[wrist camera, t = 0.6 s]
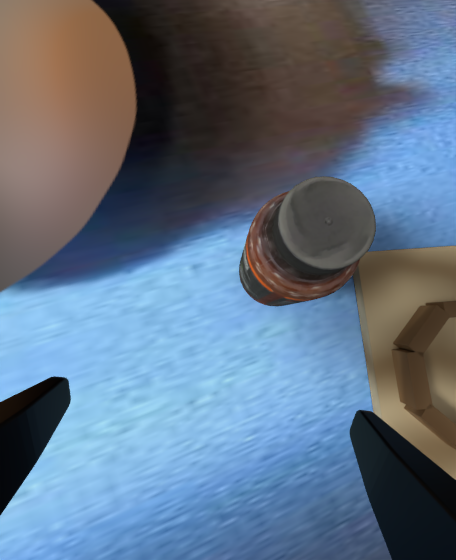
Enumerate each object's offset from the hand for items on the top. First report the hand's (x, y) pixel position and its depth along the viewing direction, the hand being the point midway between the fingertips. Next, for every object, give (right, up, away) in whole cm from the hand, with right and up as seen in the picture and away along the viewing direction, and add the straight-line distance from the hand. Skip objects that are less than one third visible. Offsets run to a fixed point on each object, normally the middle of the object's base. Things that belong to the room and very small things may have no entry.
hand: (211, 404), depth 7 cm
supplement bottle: (+4, +4, +13) cm, 15 cm away
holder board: (+19, -3, +12) cm, 23 cm away
